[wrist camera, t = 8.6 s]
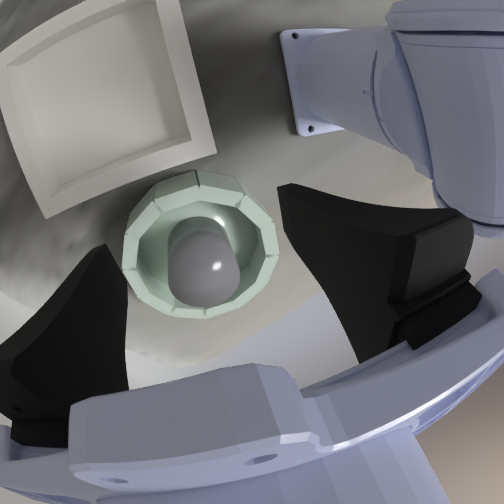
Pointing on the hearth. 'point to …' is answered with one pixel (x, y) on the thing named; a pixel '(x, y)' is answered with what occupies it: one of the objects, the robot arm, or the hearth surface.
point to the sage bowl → (191, 205)
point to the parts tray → (102, 99)
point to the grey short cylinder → (201, 263)
